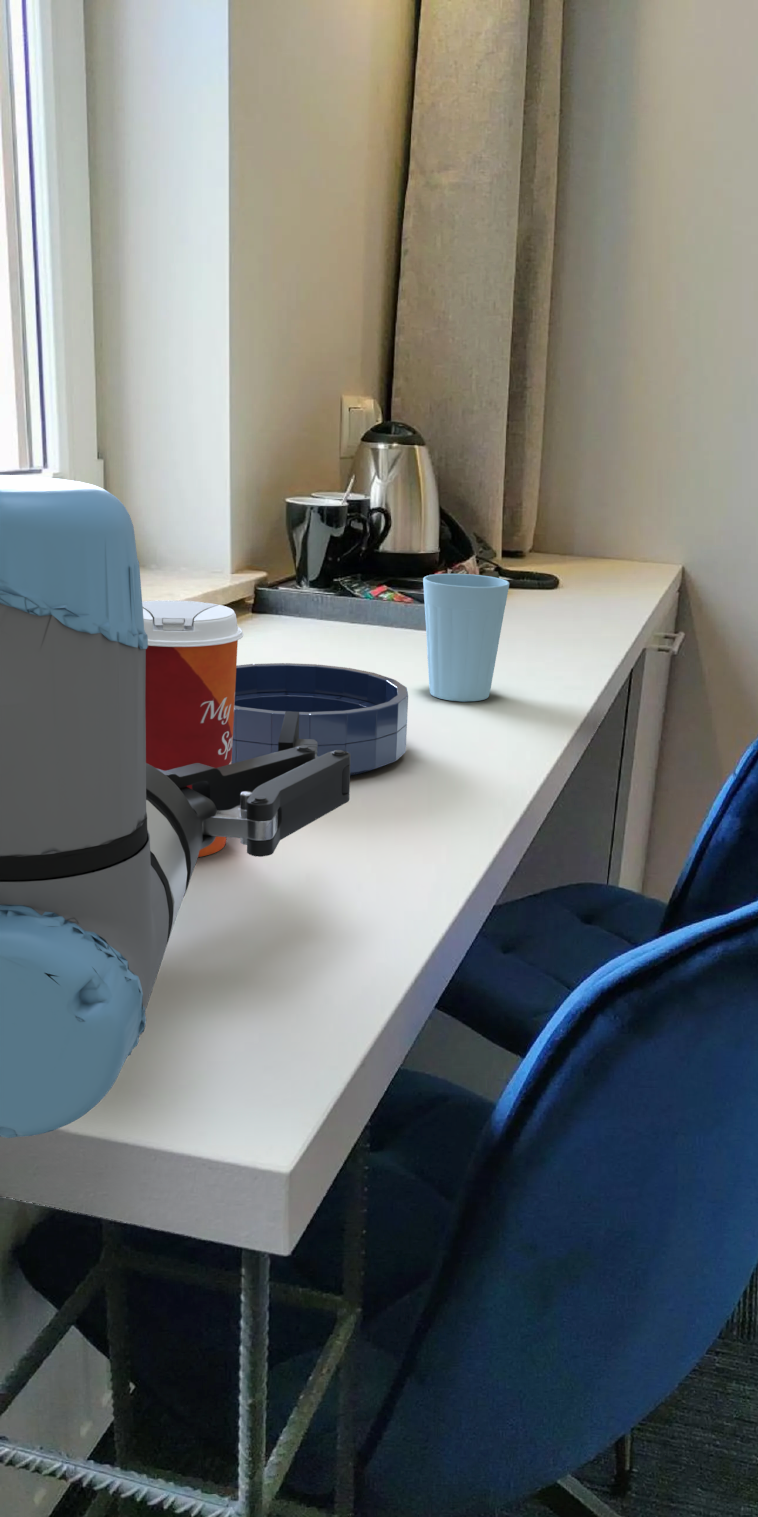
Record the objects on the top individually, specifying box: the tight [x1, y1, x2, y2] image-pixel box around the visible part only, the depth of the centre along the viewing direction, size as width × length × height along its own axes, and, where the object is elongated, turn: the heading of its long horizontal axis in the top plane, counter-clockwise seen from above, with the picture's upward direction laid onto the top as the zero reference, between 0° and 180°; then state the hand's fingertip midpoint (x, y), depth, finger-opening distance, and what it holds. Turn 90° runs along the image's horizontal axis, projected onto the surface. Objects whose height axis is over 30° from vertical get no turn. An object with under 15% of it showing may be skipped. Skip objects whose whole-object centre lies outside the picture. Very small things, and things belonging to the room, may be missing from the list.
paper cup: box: [142, 599, 244, 858], centre depth 75 cm, size 8×8×14 cm
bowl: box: [231, 662, 409, 776], centre depth 97 cm, size 17×17×5 cm
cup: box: [422, 573, 510, 702], centre depth 117 cm, size 8×8×10 cm
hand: (169, 730), depth 72 cm, fingers open, 13 cm apart
